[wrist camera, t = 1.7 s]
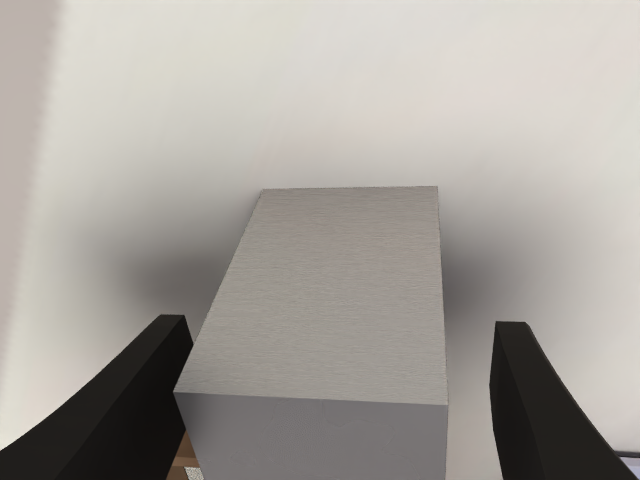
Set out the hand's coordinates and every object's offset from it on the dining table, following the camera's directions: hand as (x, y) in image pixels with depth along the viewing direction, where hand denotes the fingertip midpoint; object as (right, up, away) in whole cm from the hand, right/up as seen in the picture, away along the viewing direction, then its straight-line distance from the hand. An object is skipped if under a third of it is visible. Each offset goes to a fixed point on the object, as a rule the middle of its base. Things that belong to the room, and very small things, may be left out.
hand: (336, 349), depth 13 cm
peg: (+1, +2, +3) cm, 4 cm away
